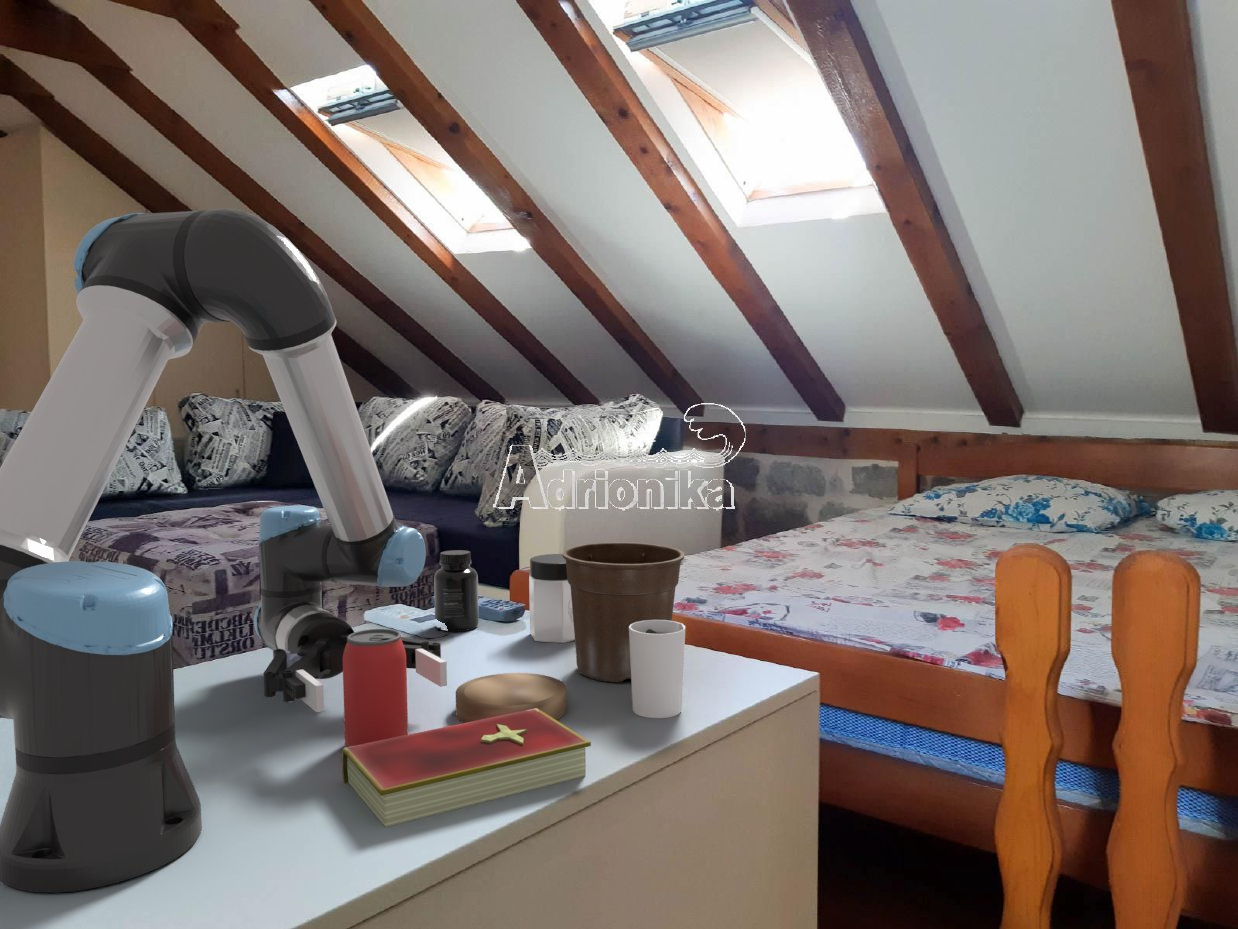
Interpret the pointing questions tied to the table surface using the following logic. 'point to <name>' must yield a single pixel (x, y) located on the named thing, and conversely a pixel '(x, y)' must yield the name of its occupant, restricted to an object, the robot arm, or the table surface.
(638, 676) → the white cup
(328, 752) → the table surface
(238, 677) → the table surface
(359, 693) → the beer can
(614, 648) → the plant pot
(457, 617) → the supplement bottle
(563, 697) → the shallow wooden bowl
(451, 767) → the hardcover book
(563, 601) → the jar
